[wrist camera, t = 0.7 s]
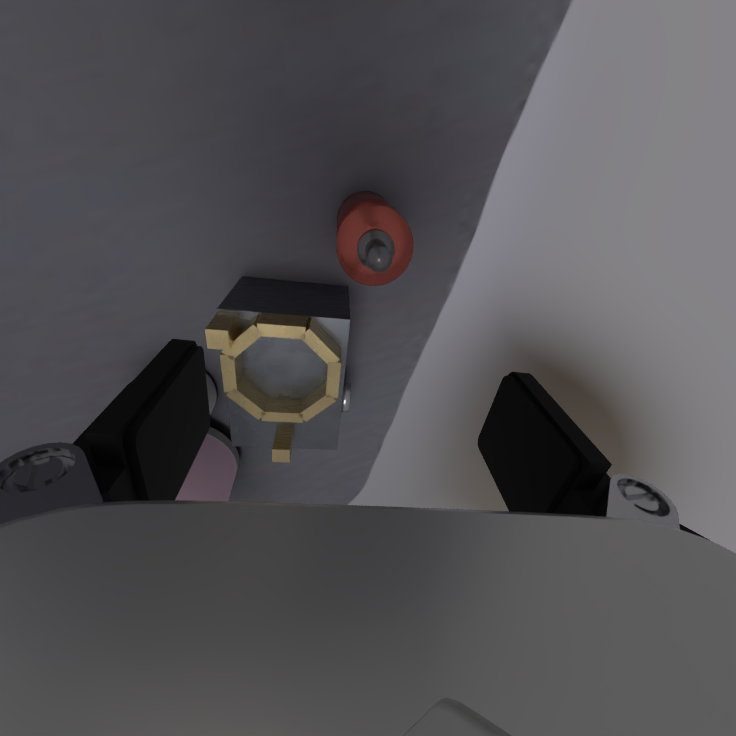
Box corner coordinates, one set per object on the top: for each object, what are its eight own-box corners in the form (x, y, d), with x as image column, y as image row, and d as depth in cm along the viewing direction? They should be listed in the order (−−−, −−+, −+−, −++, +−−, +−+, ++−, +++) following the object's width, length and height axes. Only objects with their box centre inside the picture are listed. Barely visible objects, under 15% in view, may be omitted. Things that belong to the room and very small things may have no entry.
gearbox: (242, 276, 33) (203, 325, 23) (358, 287, 34) (365, 337, 25) (250, 396, 40) (223, 470, 31) (345, 401, 41) (347, 473, 32)
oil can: (339, 187, 29) (340, 208, 18) (396, 195, 30) (431, 219, 19) (335, 248, 32) (333, 297, 21) (388, 253, 33) (414, 305, 22)
